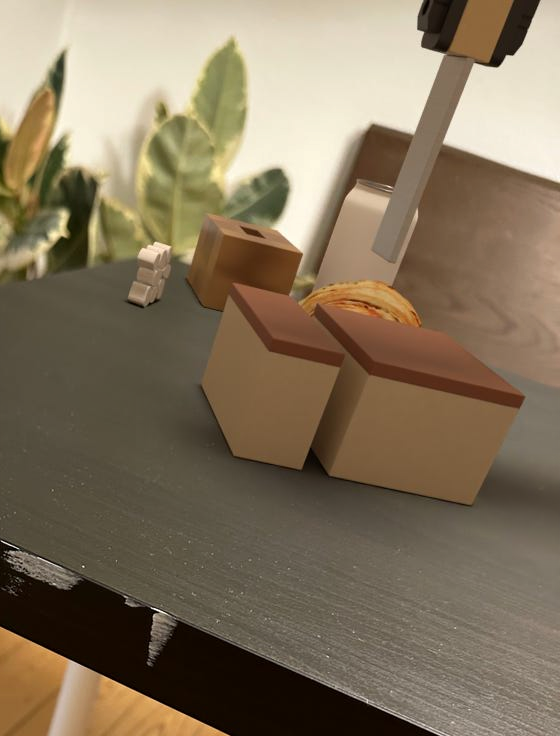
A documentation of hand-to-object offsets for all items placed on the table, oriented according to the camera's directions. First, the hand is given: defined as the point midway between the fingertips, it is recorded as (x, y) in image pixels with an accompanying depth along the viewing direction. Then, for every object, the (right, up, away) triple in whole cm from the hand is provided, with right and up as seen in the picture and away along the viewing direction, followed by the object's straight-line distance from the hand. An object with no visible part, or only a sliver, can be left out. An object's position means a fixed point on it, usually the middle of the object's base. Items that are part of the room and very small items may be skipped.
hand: (460, 55), depth 45 cm
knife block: (-4, +4, +43) cm, 43 cm away
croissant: (+3, -6, +30) cm, 31 cm away
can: (+6, +1, +44) cm, 44 cm away
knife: (-2, -7, +5) cm, 9 cm away
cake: (0, -15, +15) cm, 21 cm away
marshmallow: (-12, +1, +35) cm, 37 cm away
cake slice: (-8, -14, +14) cm, 21 cm away
